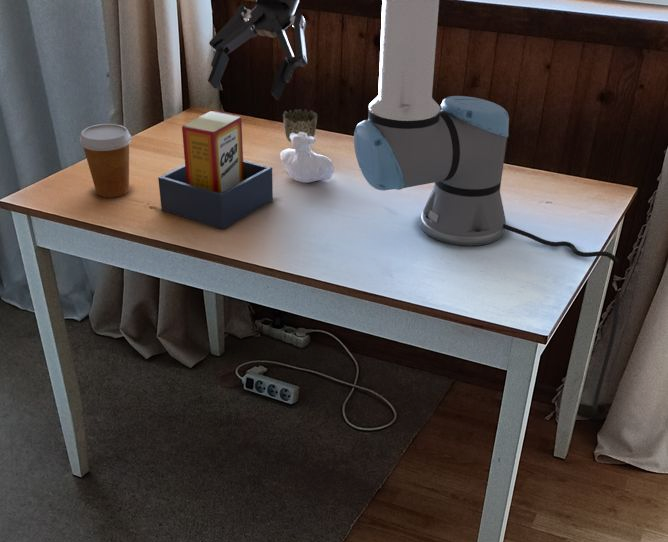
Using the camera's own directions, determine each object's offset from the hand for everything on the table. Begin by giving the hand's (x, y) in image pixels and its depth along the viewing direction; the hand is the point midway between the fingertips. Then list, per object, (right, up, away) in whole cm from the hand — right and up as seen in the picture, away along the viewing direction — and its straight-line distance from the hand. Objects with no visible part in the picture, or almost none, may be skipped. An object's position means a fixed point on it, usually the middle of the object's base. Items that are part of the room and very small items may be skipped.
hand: (243, 90), depth 159 cm
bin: (-5, -21, +3) cm, 22 cm away
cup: (+10, -5, +28) cm, 30 cm away
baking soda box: (-5, -20, +3) cm, 21 cm away
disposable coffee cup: (-26, -18, +8) cm, 33 cm away
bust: (+11, -14, +14) cm, 23 cm away
